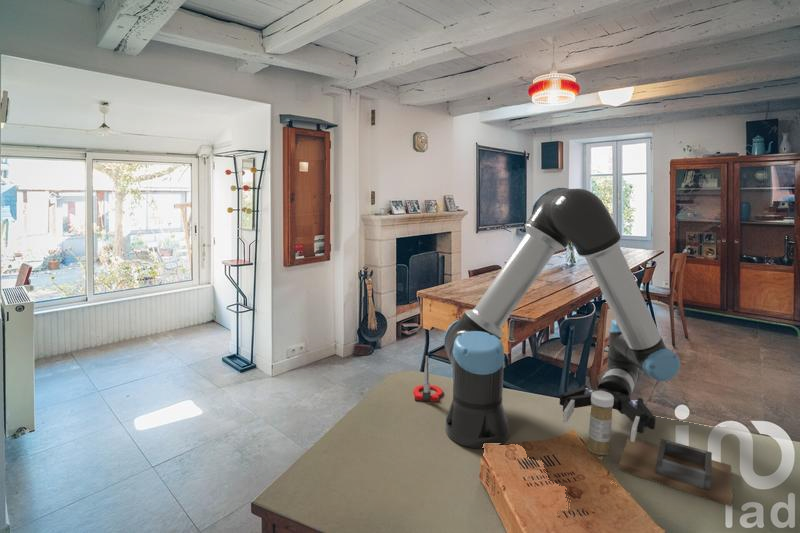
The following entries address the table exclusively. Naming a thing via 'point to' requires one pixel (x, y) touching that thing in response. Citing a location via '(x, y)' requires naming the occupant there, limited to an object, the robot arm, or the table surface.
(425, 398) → the tow hook
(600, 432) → the sprinkles bottle
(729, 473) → the cup bracket
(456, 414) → the robot arm
